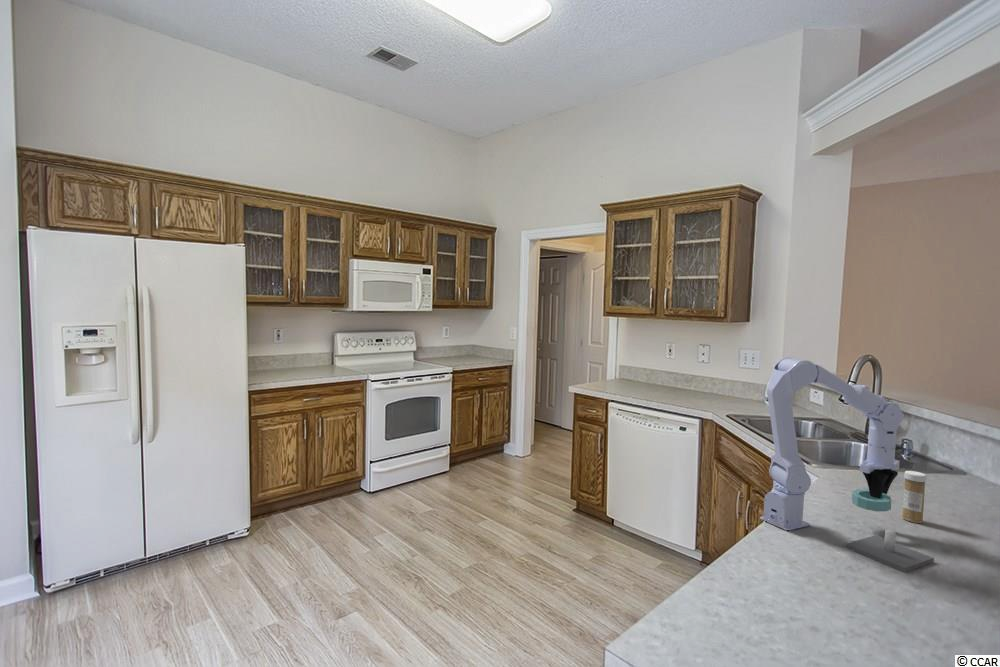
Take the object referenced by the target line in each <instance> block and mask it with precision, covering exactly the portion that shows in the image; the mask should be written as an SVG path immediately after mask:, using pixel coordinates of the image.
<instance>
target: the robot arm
mask: <svg viewBox="0 0 1000 667" xmlns="http://www.w3.org/2000/svg"><path fill="white" fill-rule="evenodd" d="M812 383H815V384H820V385H822V386H824V387H827V388H828V389H830V390H831V391H834V392H835V393H837V394H839V395H842V398H843V401H844V403H845V404H847V405H849V406H851V407H852V408H853V409H855V410H857V411H859V412H861V413H863V414H864V415H865V417H866V418H867V419H869V422H868V423H869V424H868V426H869V427H868V440H867V454H866V455H867V456H866V459H865V460H864V461H863V462H862V463H860V464H859V472H862V475H863V476H864V478H865V480H866V483H867V487H868V490H869V492H870V496H872V497H875V498H878V499H880V498H881V496H882V493H884V494H886V495H888V493H889V489H890V488H891V485H892V482H894V480H895V478H896V477H897V476H898V475H899V472H898V470H900V460H898V459H896V458H895V456H896V448H897V447H896V445H897V431H899V426H900V424H901V423H902V421H903V420H904V418H905V414H904V413H903V411H902V408H901V407H900V405H898V404H897V403H894V402H890V401H886V398H885V396H883V395H880V394H876V393H874V392H872V391H870V387H869V386H867V385H865V384H853V385H851V384H850V383H848V382H846V381H844V380H843V379H842V378H840V377H838V376H837V375H835V374H833V372H830V371H829V370H827V369H826V368H824V367H822V366H821V365H818V364H816V363H814V362H812V361H810V360H802V359H796V358H795V359H794V358H792V357H783V358H781V359H779V360H778V361H777V362H776V363H775V364H774V365H773V366H772V373H771V377H770V379H769V382H768V384H767V387H766V395H767V397H766V398H767V401H768V402H767V403H768V409H769V416H770V425H771V432H772V438H773V446H774V452H775V453H774V454H773V455H772V456H771V457H770V461H771V463H770V466H769V469H768V470H769V476H770V478H771V479H772V480H773V481H772V482H773V484H772V485H773V486H772V489H771V491H769V492H767V493H766V494H765V495H764V498H763V514H762V516H759V518H760V520H762V521H764V522H766V521H767V523H768V524H771V525H773V526H776V527H778V528H780V529H783V530H785V531H787V530H789V531H792V530H797V529H800V528H806V527H808V526H810V525H811V523H809V522H807V521H804V504H805V503H804V502H805V493H806V492H807V491H809V489H810V487H811V483H812V480H811V479H812V478H811V476H810V475H809V474H808V472H807V470H806V465H805V463H804V462H803V460H802V458H801V456H800V454H799V448H798V442H797V433H796V427H795V426H796V425H795V420H794V419H795V417H794V413H793V412H794V411H793V405H792V396H793V395H795V393H796V392H798V391H799V390H802V389H803V388H805V387H807V386H808V385H810V384H812ZM768 519H769V520H768Z"/></svg>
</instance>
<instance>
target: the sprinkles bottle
mask: <svg viewBox="0 0 1000 667" xmlns="http://www.w3.org/2000/svg"><path fill="white" fill-rule="evenodd" d="M903 477H904V488H903V500H902V501H903V502H902V515H901V518H902V519H903V520H904V521H908V522H910V523H913V524H914V523H915V524H923V522H924V510H925V509H924V508H925V487H926V482H927V474H925V473H923V472H920V471H915V470H905V471H904V475H903Z"/></svg>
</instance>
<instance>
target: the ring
mask: <svg viewBox="0 0 1000 667" xmlns="http://www.w3.org/2000/svg"><path fill="white" fill-rule="evenodd" d="M851 493H852V495H851V501H852V504H853V505H855V506H856V507H859V508H861V509H865V510H867V511H873V512H888V511H890V510H892V498H891V496H890V495H888V494H887V495H886V494H884V493H882V496H881V498H880V499H878V498H875V497H872V496H870V492H869V489H866V488H865V489H863V488H858V489H854V490H852V491H851Z"/></svg>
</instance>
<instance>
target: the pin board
mask: <svg viewBox="0 0 1000 667" xmlns="http://www.w3.org/2000/svg"><path fill="white" fill-rule="evenodd" d="M896 536H897V532H895V531H893V530H890V529H885V530H884V538H883V537H881V536H878V535H871V536H868V537H865V538H862V539H861V538H859V539H857V540H853V541H851V542H848V543H846V546H845V547H847V549H849V550H851V549H852V550H851V551H853V550H854V551H853V552H856V553H858V554H861V555H863V556H865V557H868V558H870V559H873V560H875V561H878V562H880V563H882V564H884V565H887V566H888V567H891V568H894V569H896V570H898V571H901V572H903V573H908V572H910V571H913V570H915V569H919V568H922V567H924V566H927V565H930V564H933V563H934V562H935V557H932V556H930V555H927V554H925V553H922V552H919V551H916V550H914V549H912V548H910V547H907V546H905V545H904V546H903V545H901V544H899V543H897V542H896V540H897V538H896Z"/></svg>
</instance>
